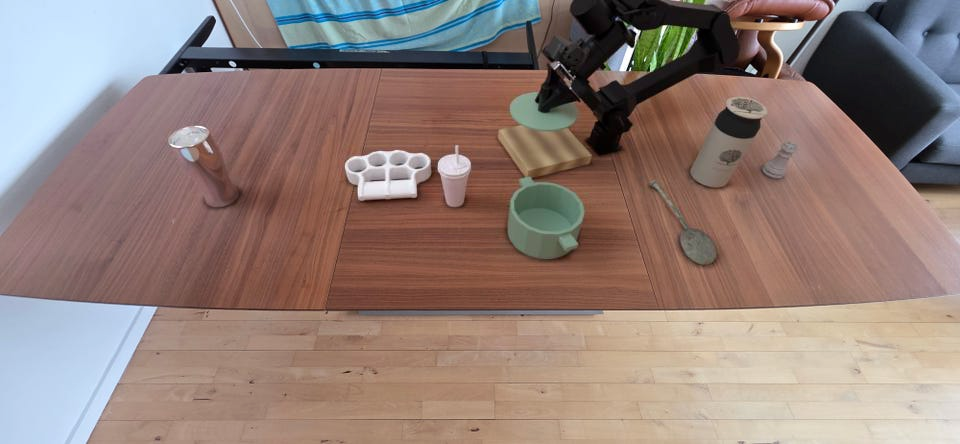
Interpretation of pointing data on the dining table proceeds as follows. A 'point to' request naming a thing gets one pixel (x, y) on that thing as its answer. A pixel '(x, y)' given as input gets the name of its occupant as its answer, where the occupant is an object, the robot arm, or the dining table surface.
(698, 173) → the travel mug
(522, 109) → the lid
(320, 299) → the dining table surface
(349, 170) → the knuckle duster
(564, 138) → the board
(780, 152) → the rook chess piece
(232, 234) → the dining table surface
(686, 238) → the soupspoon
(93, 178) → the dining table surface
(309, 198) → the dining table surface
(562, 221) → the pot
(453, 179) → the smoothie
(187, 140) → the beer glass
